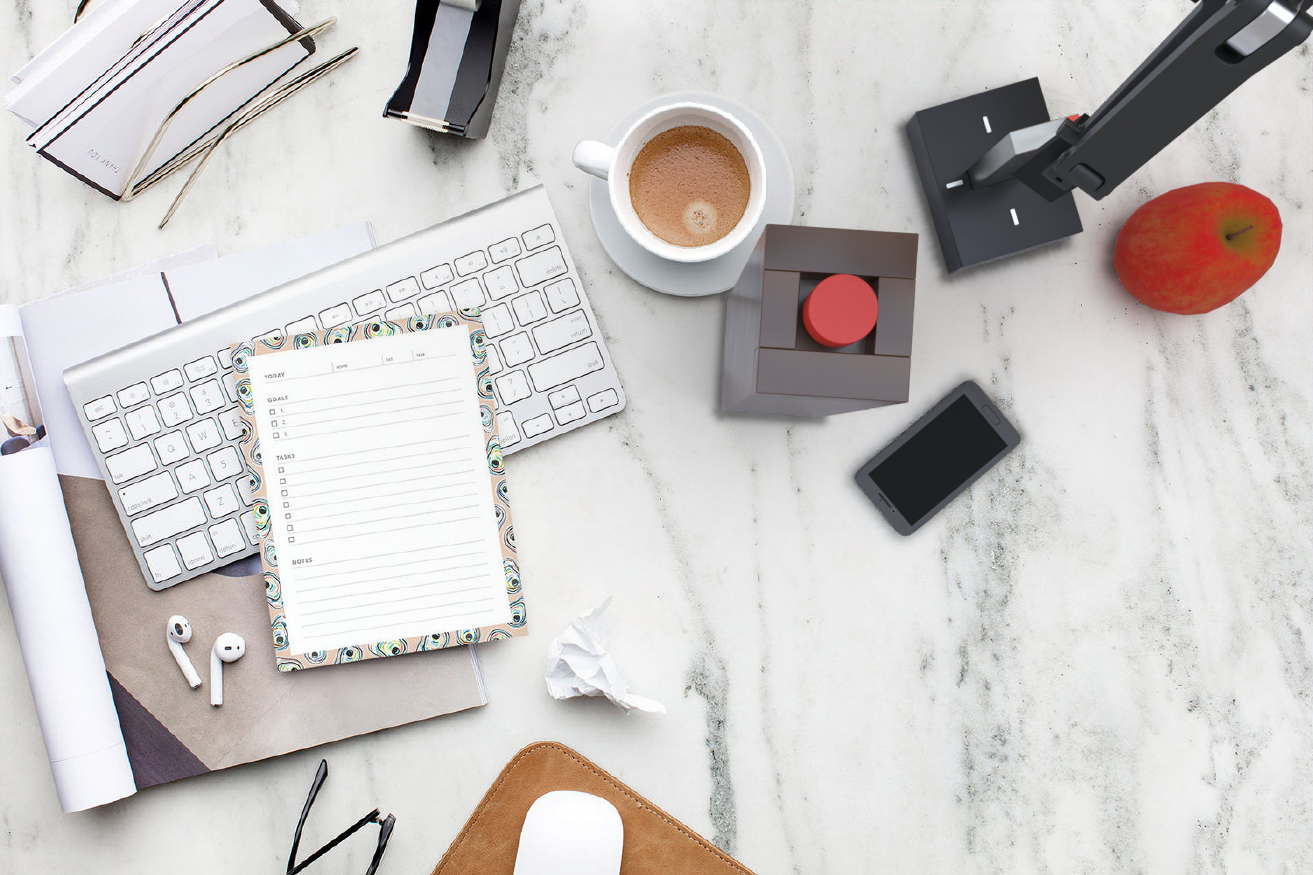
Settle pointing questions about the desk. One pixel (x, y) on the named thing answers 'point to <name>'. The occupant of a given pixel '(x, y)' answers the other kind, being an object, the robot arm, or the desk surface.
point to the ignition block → (778, 344)
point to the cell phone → (937, 458)
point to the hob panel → (992, 213)
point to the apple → (1197, 247)
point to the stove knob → (1012, 152)
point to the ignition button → (840, 310)
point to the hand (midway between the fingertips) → (1106, 83)
